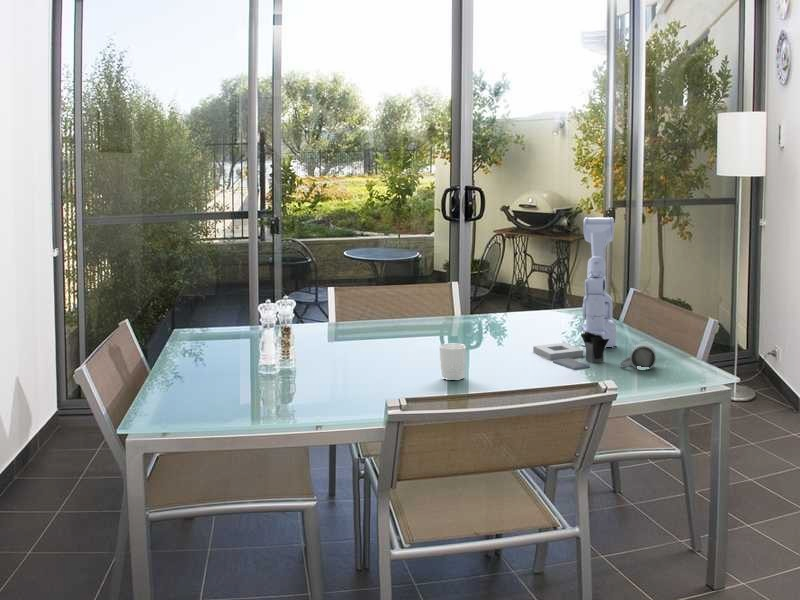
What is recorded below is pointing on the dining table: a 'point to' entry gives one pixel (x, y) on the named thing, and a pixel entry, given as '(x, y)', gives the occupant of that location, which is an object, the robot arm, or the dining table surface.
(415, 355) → the dining table surface
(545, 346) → the outlet plate
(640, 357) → the ceramic mug
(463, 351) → the white cup
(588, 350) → the block
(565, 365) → the phone
